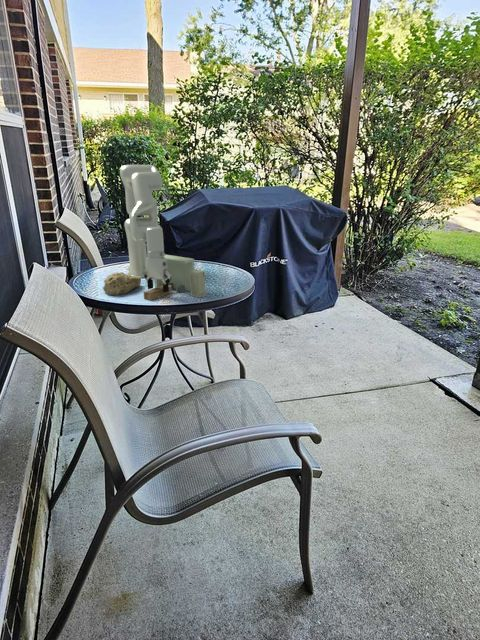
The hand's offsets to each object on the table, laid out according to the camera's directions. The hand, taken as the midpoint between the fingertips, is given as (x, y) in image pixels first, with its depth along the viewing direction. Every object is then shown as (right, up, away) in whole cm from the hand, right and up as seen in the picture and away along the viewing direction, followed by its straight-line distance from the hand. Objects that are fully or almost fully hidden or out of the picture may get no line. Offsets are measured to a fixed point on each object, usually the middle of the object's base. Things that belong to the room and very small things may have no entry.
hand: (158, 290), depth 197 cm
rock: (-20, 0, +10) cm, 22 cm away
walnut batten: (0, -3, +1) cm, 3 cm away
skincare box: (+19, -3, +1) cm, 19 cm away
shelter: (+6, +1, +11) cm, 12 cm away
